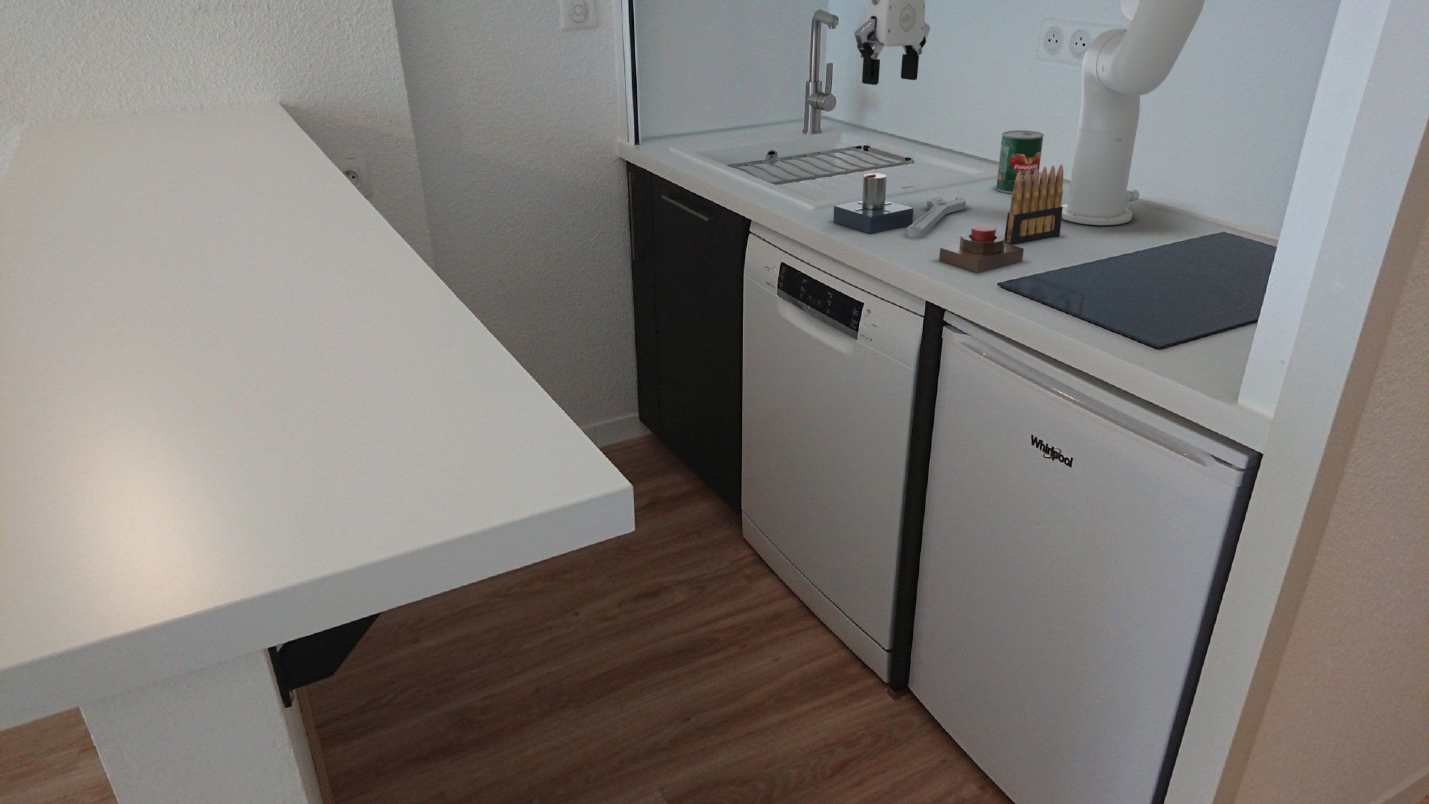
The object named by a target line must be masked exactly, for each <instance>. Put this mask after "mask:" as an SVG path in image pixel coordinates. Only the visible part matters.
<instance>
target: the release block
mask: <svg viewBox="0 0 1429 804" xmlns="http://www.w3.org/2000/svg"><path fill="white" fill-rule="evenodd" d="M1004 236H1005V235H1003V234H1001V233H997V232H996V233H995V240H988V241H982V240H975V239H971V231H968V232H963V233H962V234H961V235H960V241H959V243H955V244H950V245H947V246H942V247H940V248H939V257H938V258H939V259H938V261H939V262H941V263H944V264H947V265H950V266H953V267H957V268H959V269H962V270H965V271H968V272H972V273H974V274H982V273H984V272H988V271H992V270H996V269H1001V268H1004V267H1007V266H1010V265H1011V266H1012V265H1015V264H1018V263H1023V261H1024V260H1023V259H1024V250H1025V249H1024V248H1023V247H1021V246H1017V245H1015V244H1014V245H1010V244H1007V243H1005V237H1004Z"/></svg>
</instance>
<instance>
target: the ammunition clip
mask: <svg viewBox="0 0 1429 804" xmlns="http://www.w3.org/2000/svg"><path fill="white" fill-rule="evenodd" d="M1030 184H1031V187H1030ZM1063 184H1064V166H1063V164H1060V165H1059V167H1058V168H1057V171H1056V168H1055V165H1052V166H1051V167H1050V169H1049V172H1048V170H1047V167H1046V166H1043V168H1042V171H1041V173H1040V170H1039V171H1038V168H1036V169H1035V171H1034V174H1033V177H1032V181H1031V175H1030V171H1029V169H1028V170H1027V171H1026V174H1025V177H1024V180H1023V187H1022V174H1021V171H1019V172H1018V174H1017V176H1016V179H1015V184H1014V190H1013V194H1012V196H1011V199H1010V207H1009V212H1007V215H1006V216H1007V217H1006V223H1005V230H1004V235H1003V236H1004V237H1005V243H1007V244H1010V245H1014V246H1015V245H1020V244H1024V243H1030V242H1035V241H1036V242H1037V241H1041V240H1047V239H1052V238H1058V237H1059V238H1060V235H1061V227H1062V220H1063V219H1062V209H1063V207H1061V206H1062V201H1063V195H1064V194H1063V192H1064V188H1063V187H1064V185H1063Z"/></svg>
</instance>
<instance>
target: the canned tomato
mask: <svg viewBox="0 0 1429 804" xmlns="http://www.w3.org/2000/svg"><path fill="white" fill-rule="evenodd" d="M1044 134H1045V133H1043V132H1040V131H1036V130H1019V129H1018V130H1007V131H1004V132H1002V133H1001V140H1000V142H1001V143H1000V151H999V162H998V170H997V179H996V188H995V190H996V191H998V192H1001V193H1004V194H1010V195H1011V194H1012V195H1013V190H1014V184H1015V179H1016V176H1017V174H1018V172H1019V171H1021V174H1022V187H1023V180H1024V177H1025V174H1026V171H1027V170H1028V169H1029V171H1030V175H1031V181H1032V177H1033V174H1034V171H1035V169H1036V168H1038V171H1039V172H1040V166H1041V157H1042V151H1043V142H1044V136H1045V135H1044ZM1030 187H1031V184H1030Z"/></svg>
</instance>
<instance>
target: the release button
mask: <svg viewBox="0 0 1429 804" xmlns="http://www.w3.org/2000/svg"><path fill="white" fill-rule="evenodd" d="M970 232H971V239H975V240H982V241H988V240H995V233H997V228H996V227H994V226H992V225H987V224H986V225H985V224H979V225H974V226H972V227H971V231H970Z"/></svg>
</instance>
